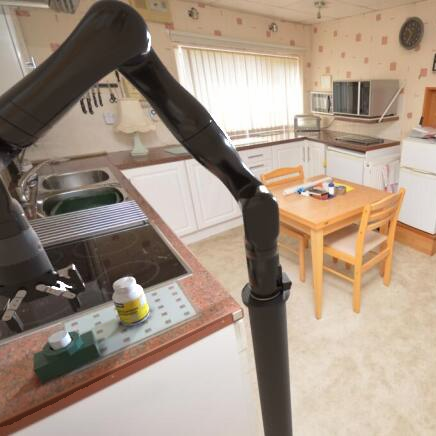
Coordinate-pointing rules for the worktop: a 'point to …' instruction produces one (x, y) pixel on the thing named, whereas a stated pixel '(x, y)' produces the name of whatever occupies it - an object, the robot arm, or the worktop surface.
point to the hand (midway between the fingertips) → (49, 319)
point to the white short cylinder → (59, 340)
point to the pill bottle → (130, 301)
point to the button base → (65, 356)
